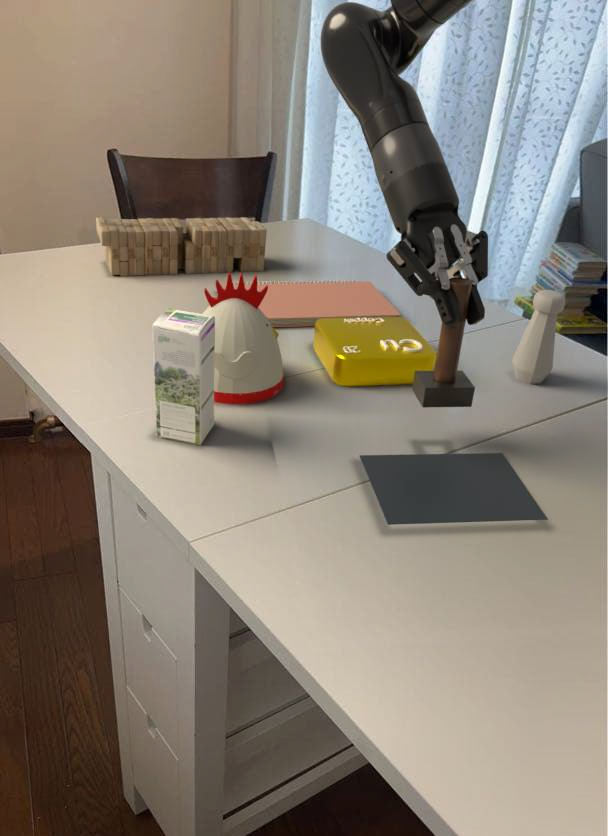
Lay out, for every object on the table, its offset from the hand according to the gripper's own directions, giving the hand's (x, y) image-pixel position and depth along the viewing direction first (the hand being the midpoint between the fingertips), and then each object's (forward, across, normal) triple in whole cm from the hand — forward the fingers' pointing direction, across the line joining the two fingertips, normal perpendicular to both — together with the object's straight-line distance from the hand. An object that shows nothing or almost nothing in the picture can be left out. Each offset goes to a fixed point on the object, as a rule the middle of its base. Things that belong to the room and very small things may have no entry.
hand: (466, 323), depth 89 cm
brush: (+6, 0, +8) cm, 10 cm away
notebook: (-22, +11, +45) cm, 52 cm away
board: (+17, -6, +6) cm, 19 cm away
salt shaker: (+4, +27, +20) cm, 34 cm away
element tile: (-6, +8, +29) cm, 31 cm away
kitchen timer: (-8, -14, +32) cm, 35 cm away
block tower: (-40, +1, +63) cm, 75 cm away
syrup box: (-1, -26, +25) cm, 36 cm away
